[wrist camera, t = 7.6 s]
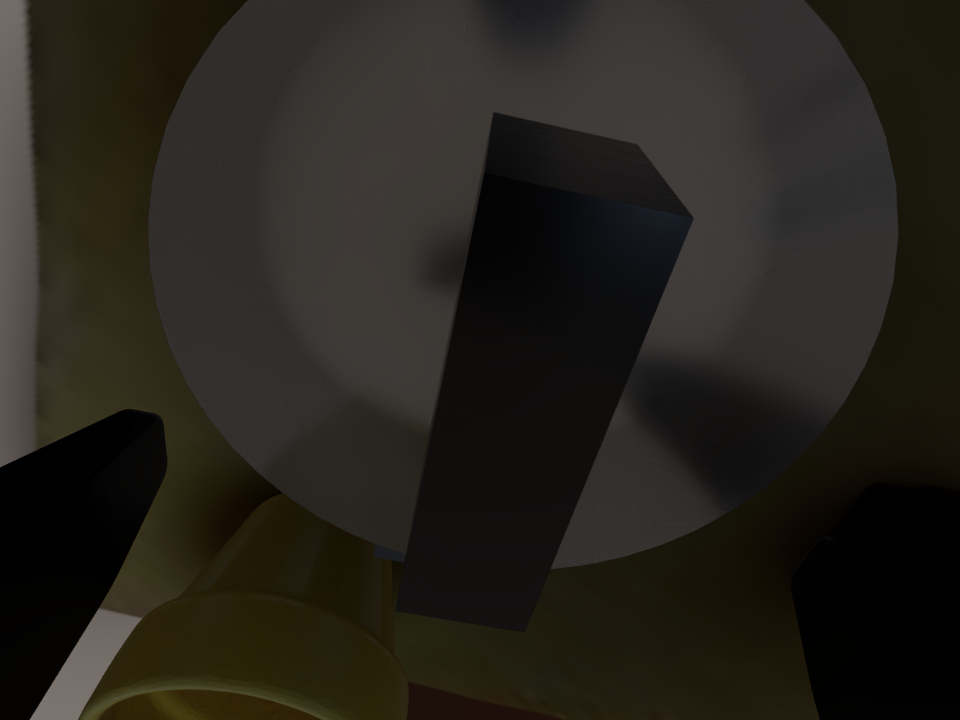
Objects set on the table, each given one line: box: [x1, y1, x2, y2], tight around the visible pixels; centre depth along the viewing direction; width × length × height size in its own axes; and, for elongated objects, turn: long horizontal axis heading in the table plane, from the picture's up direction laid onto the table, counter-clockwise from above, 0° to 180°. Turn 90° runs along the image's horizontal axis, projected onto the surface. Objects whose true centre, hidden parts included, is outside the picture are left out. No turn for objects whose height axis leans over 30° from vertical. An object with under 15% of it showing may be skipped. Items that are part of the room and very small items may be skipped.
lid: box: [148, 0, 898, 632], centre depth 11 cm, size 14×14×5 cm
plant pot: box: [78, 493, 409, 720], centre depth 23 cm, size 10×10×10 cm
